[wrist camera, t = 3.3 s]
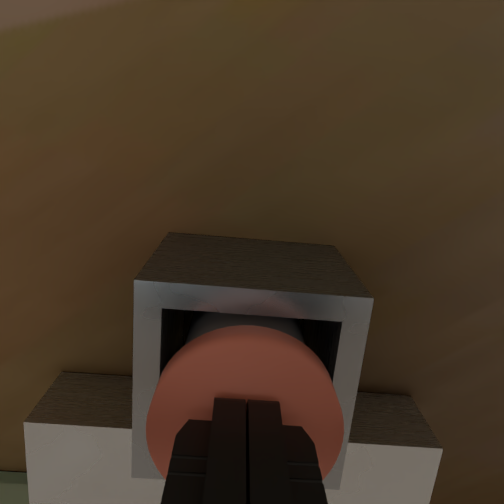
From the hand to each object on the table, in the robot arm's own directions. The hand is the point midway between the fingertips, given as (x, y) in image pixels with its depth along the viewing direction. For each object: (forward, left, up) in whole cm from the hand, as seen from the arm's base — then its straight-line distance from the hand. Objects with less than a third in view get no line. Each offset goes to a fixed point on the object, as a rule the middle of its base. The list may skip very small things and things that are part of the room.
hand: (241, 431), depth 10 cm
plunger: (0, 0, -5) cm, 5 cm away
